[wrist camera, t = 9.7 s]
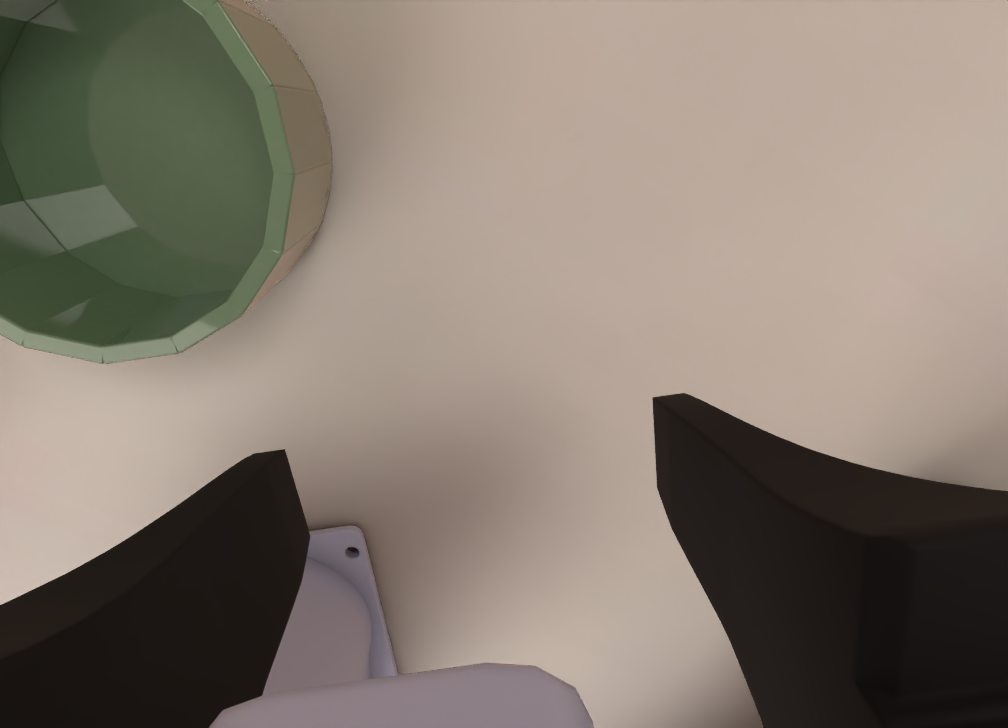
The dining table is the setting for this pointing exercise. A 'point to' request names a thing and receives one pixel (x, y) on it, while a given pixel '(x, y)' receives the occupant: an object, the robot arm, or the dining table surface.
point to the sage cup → (149, 171)
